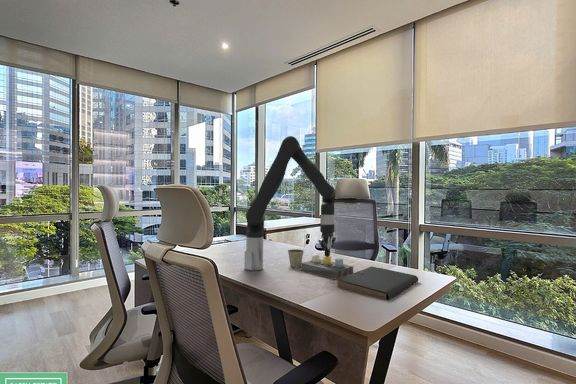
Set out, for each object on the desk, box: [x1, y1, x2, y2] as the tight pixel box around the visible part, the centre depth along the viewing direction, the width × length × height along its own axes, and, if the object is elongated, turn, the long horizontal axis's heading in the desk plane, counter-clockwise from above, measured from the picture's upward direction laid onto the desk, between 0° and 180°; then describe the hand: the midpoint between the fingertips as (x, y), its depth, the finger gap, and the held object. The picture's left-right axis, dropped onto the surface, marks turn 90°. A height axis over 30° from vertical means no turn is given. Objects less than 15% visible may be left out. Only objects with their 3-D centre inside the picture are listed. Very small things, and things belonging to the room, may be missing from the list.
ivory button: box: [311, 253, 320, 264], centre depth 162 cm, size 4×4×5 cm
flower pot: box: [287, 248, 305, 268], centre depth 169 cm, size 9×9×9 cm
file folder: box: [336, 266, 419, 301], centre depth 138 cm, size 33×4×24 cm
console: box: [300, 258, 354, 281], centre depth 157 cm, size 14×23×4 cm, turn 47°
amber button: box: [322, 255, 332, 266], centre depth 157 cm, size 4×4×5 cm
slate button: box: [334, 258, 344, 269], centre depth 152 cm, size 4×4×5 cm
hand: (327, 256), depth 157 cm, fingers closed
